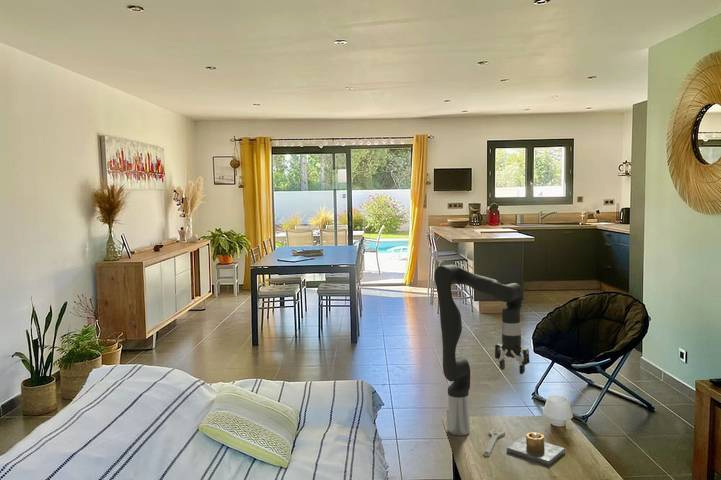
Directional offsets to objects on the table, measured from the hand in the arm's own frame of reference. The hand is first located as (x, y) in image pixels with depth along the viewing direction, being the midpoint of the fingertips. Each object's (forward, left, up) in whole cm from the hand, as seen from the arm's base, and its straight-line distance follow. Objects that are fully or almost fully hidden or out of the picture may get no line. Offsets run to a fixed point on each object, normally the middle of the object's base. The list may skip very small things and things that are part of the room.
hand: (512, 371), depth 217 cm
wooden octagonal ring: (+8, +3, -31) cm, 32 cm away
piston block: (+8, +3, -33) cm, 34 cm away
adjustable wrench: (-10, -1, -33) cm, 35 cm away
